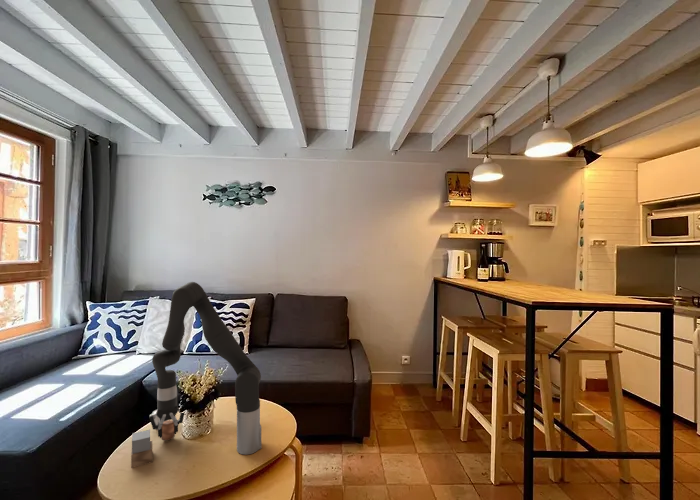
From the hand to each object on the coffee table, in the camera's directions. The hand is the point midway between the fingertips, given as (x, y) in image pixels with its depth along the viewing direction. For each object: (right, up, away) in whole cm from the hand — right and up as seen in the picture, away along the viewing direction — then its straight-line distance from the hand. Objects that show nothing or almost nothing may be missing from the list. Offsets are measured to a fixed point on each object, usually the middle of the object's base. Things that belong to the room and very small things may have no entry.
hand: (168, 434), depth 153 cm
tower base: (-3, -3, -13) cm, 14 cm away
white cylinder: (-9, -2, +11) cm, 14 cm away
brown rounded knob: (0, -1, 0) cm, 1 cm away
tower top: (-3, +2, -14) cm, 14 cm away
